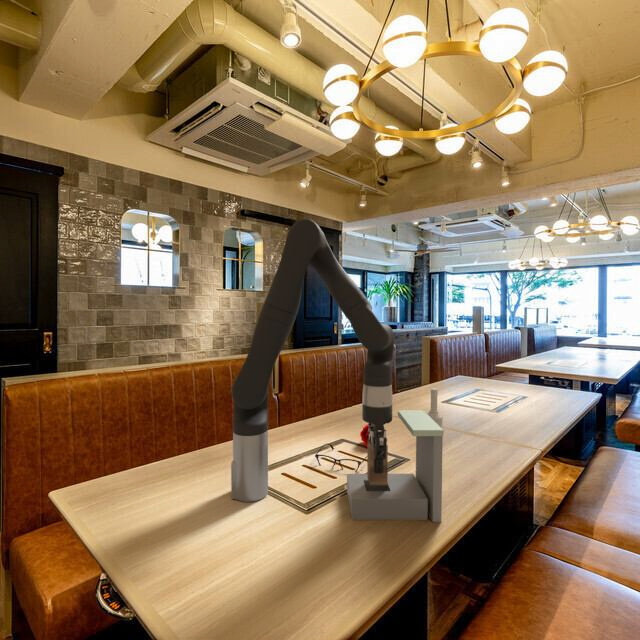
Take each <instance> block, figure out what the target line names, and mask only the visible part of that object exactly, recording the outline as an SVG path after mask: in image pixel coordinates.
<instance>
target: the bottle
mask: <svg viewBox="0 0 640 640" xmlns="http://www.w3.org/2000/svg"><path fill="white" fill-rule="evenodd" d="M438 391H439V389H438V388H437V387H436V388H435V387H433V388H432V387H431V388H430V410H429V412H426V413H427V414H428V415H429V416H430V417H431V418H432V419H433V420H434V421H435V422H436V423H437V424H438V425H439V426H440V427H441V428H442V429H443V416H442V414H441V413H439V410H438V395H439V392H438Z"/></svg>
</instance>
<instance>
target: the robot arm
mask: <svg viewBox="0 0 640 640" xmlns="http://www.w3.org/2000/svg"><path fill="white" fill-rule="evenodd" d="M309 266H310V267H311V268H312V269H313V270H314V271H315V272H316V273H317V274H318V276H319V277H320V279H321V280H322V282H323V283H324V285H325V286H326V288H327V290H328V292H329V294H330V295H331V297H332V299H333V300H334V301H335V303H336V305H337V306H338V308H339V309H340V310H341V312H342V313H343V314H344V315H345V317H346V319H347V320H348V321H349V323H350V325H351V328H352V329H353V332H354V334H355V336H356V338H357V340H358V341H359V343H360V344H361V346H363V347H364V348H365V349H366V350H367V357H366V361H365V363H364V365H363V385H362V386H363V387H362V395H361V396H362V400H361V401H362V403H361V404H362V407H361V409H362V415H361V416H362V417H361V418H362V420H363V422H366V423H367V424H369V428H368V430H369V440H371V445H372V448H373V449H374V455H373V457H374V472H375V473H376V474H377V473H383V459H386V445H388V442H387V441H388V438H387V430H386V429H385V426H384V425H386V424H390V423H391V422H392V421H393V389H392V388H393V387H392V384H393V383H392V382H393V381H392V379H393V378H392V372H393V371H392V362H393V355H394V348H395V347H394V346H395V335H394V331H393V329H392V327H391V326H390V325H389V324H387V323H385V322H381V321H380V320H379V319H378V317H377V315H375V313H374V312H373V306H372V304H371V302H370V301H369V300H368V298H367V297H366V295H365V294H364V292H363V291H362V290H361V288H360V287H359V286H358V285H357V284H356V282H355V281H354V280H353V279H352V277H351V276H350V275H349V274H348V273H347V272H346V270H345V269H344V268H343V267H342V266H341V264H340V263H339V261H338V259H337V258H336V255H334V253H333V251H332V248H331V247H330V245H329V243H328V240H327V238H326V235H325V233H324V231H323V230H322V228H321V227H320V226H319V225H318V224H317V223H316V222H315V221H314V220H312V219H310V218H302V219H299V220H297V221H296V222H294V223H293V224H292V225H291V227H290V228H289V230H288V232H287V235H286V238H285V243H284V246H283V248H282V253H281V256H280V260H279V263H278V267H277V270H276V271H275V275H274V277H273V280H272V282H271V284H270V287H269V290H268V292H267V294H266V297H265V299H264V302H263V304H262V307H261V310H260V311H259V315H258V318H257V320H256V323H255V327H254V331H253V335H252V339H251V344H250V347H249V350H248V353H247V355H246V358H245V360H244V362H243V364H242V367H241V368H240V370H239V372H238V374H237V376H236V378H235V379H234V381H233V383H232V384H231V385H232V386H231V390H230V391H231V397H232V400H233V417H232V461H231V464H230V472H231V473H230V476H231V477H230V481H231V482H230V483H231V484H230V486H231V487H230V488H231V489H230V490H231V491H230V493H231V495H230V496H231V500H238V501H240V502H256V501H257V502H258V501H260V500H262V499H264V498H266V497H267V495H268V493H269V428H268V427H269V384H270V381H271V377H272V374H273V370H274V369H275V368H274V367H275V364H276V362H277V359H278V357H279V355H280V354H281V352H282V351H283V348H284V346H285V344H286V342H287V340H288V338H289V336H290V333H291V331H292V328H293V327H294V324H295V321H296V318H297V315H298V312H299V310H300V305H301V300H302V299H301V298H302V292H303V291H302V290H303V284H304V282H303V281H304V278H305V275H306V271H307V269H308V267H309ZM374 444H375V445H374ZM378 451H382V453H381V454H378Z"/></svg>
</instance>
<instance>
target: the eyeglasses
mask: <svg viewBox="0 0 640 640" xmlns="http://www.w3.org/2000/svg"><path fill="white" fill-rule="evenodd" d="M325 445H327V446H328V445H329V446H330V448H331V450H332V451H334V450H335V447H334V446H333V445H332V444H329V443H324V444H323V445H322V446H321V447H320V448H319V449H318V451H317V452H316V453H315V455H314V457H315V458H316V460H317V463H318V465H319V466H323V465H322V464H321V463H320V460H319V457H325V458H329V459H332V460H334V461H333V462H334V463H333V465H332V466H331V467H332V468H334V467H335V465H337V462H338V464H339V466H340V468H341V469H342V470H343V469H344V468H343V466H342V464H341V461H352V462H355V463H357V468H356V470H355V472H357V471H358V469H359V467H360V466H361V465H362V464H363V463H364V461H365V460H366V459H367V456H368V454H367V455H366V457H365V458H363V460H362V461H360V460H357V459H351V458H343V459H341V458H340V459H336V458H334V457H332V456H329V455H325V454H318V453H319V452H320V451H321V450H322V448H323V447H324V446H325ZM333 449H334V450H333Z"/></svg>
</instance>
